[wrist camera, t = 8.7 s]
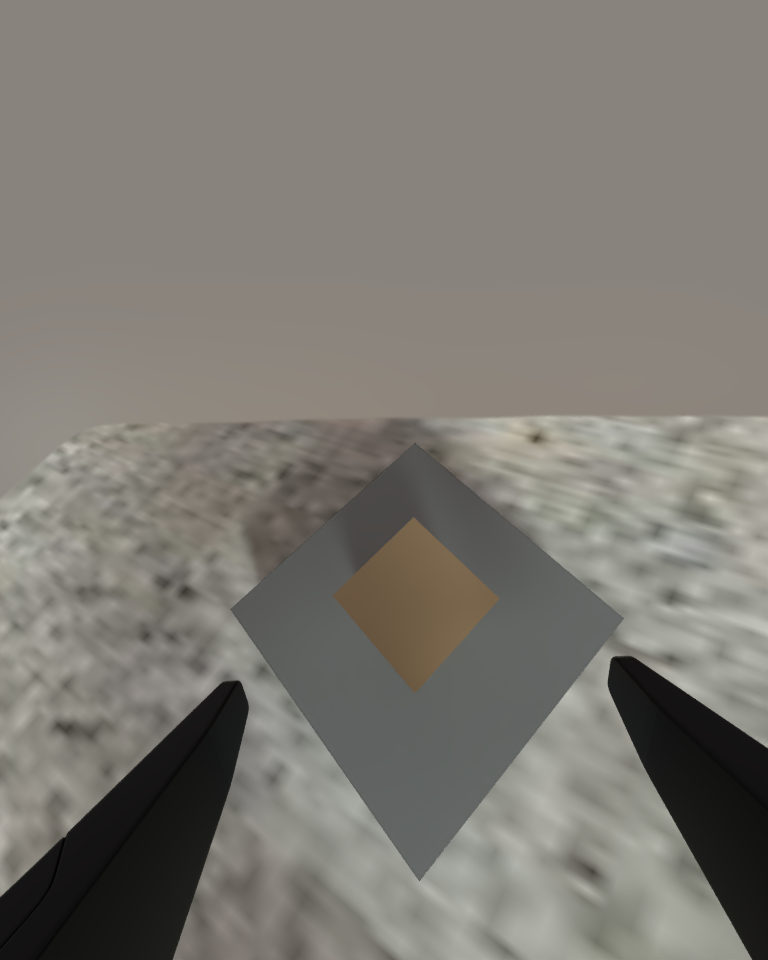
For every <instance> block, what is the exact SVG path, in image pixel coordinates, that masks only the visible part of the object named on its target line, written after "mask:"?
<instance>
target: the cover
mask: <svg viewBox="0 0 768 960" xmlns="http://www.w3.org/2000/svg"><path fill="white" fill-rule="evenodd" d="M231 611H232V612H233V614H234V615H235V617H236V618H237V620H238V621H239V622H240V624H241V625H242V627H243V628H244V630H245V631H246V633H247V634H248V635H249V637H250V638H251V640H252V641H253V643H254V644H255V645H256V647H257V648H258V650H259V651H260V653H261V654H262V656H263V657H264V658H265V660H266V661H267V663H268V664H269V666H270V667H271V669H272V670H273V671H274V673H275V674H276V676H277V677H278V679H279V680H280V681H281V683H282V684H283V686H284V687H285V689H286V690H287V692H288V693H289V694H290V696H291V697H292V699H293V700H294V702H295V703H296V705H297V706H298V707H299V709H300V710H301V712H302V713H303V715H304V716H305V717H306V719H307V720H308V722H309V723H310V725H311V726H312V728H313V729H314V730H315V732H316V733H317V735H318V736H319V738H320V739H321V741H322V742H323V743H324V745H325V746H326V748H327V749H328V751H329V752H330V753H331V755H332V756H333V758H334V759H335V761H336V762H337V764H338V765H339V766H340V768H341V769H342V771H343V772H344V774H345V775H346V777H347V778H348V779H349V781H350V782H351V784H352V785H353V787H354V788H355V789H356V791H357V792H358V794H359V795H360V797H361V798H362V800H363V801H364V802H365V804H366V805H367V807H368V808H369V810H370V811H371V813H372V814H373V815H374V817H375V818H376V820H377V821H378V823H379V824H380V825H381V827H382V828H383V830H384V831H385V833H386V834H387V836H388V837H389V838H390V840H391V841H392V843H393V844H394V846H395V847H396V849H397V850H398V851H399V853H400V854H401V856H402V857H403V859H404V860H405V861H406V863H407V864H408V866H409V867H410V869H411V870H412V872H413V873H414V874H415V876H416V877H417V879H418V880H419V881H420V880H421V879H422V877H423V876H424V875H425V874H426V872H427V871H428V870H429V868H430V867H431V866H432V865H433V863H434V862H435V861H436V859H437V858H438V857H439V856H440V854H441V853H442V852H443V850H444V849H445V848H446V847H447V845H448V844H449V843H450V841H451V840H452V839H453V838H454V836H455V835H456V834H457V832H458V831H459V830H460V829H461V827H462V826H463V825H464V823H465V822H466V821H467V820H468V818H469V817H470V816H471V814H472V813H473V812H474V810H475V809H476V808H477V807H478V805H479V804H480V803H481V801H482V800H483V799H484V798H485V796H486V795H487V794H488V792H489V791H490V790H491V789H492V787H493V786H494V785H495V783H496V782H497V781H498V780H499V778H500V777H501V776H502V774H503V773H504V772H505V771H506V769H507V768H508V767H509V765H510V764H511V763H512V762H513V760H514V759H515V758H516V756H517V755H518V754H519V753H520V751H521V750H522V749H523V747H524V746H525V745H526V744H527V742H528V741H529V740H530V738H531V737H532V736H533V735H534V733H535V732H536V731H537V729H538V728H539V727H540V726H541V724H542V723H543V722H544V720H545V719H546V718H547V717H548V715H549V714H550V713H551V711H552V710H553V709H554V708H555V706H556V705H557V704H558V702H559V701H560V700H561V699H562V697H563V696H564V695H565V693H566V692H567V691H568V690H569V688H570V687H571V686H572V684H573V683H574V682H575V681H576V679H577V678H578V677H579V675H580V674H581V673H582V672H583V670H584V669H585V668H586V666H587V665H588V664H589V663H590V661H591V660H592V659H593V657H594V656H595V655H596V654H597V652H598V651H599V650H600V648H601V647H602V646H603V645H604V643H605V642H606V641H607V639H608V638H609V637H610V636H611V634H612V633H613V632H614V630H615V629H616V628H617V627H618V625H619V624H620V623H621V621H622V620H623V619H624V618H623V617H622V616H621V615H619V614H618V613H617V612H616V611H615V610H613V609H612V608H611V607H610V606H609V605H607V604H606V603H605V602H604V601H603V600H601V599H600V598H599V597H598V596H597V595H595V594H594V593H593V592H592V591H591V590H590V589H588V588H587V587H586V586H585V585H584V584H582V583H581V582H580V581H579V580H578V579H576V578H575V577H574V576H573V575H572V574H570V573H569V572H568V571H567V570H566V569H565V568H563V567H562V566H561V565H560V564H559V563H557V562H556V561H555V560H554V559H553V558H551V557H550V556H549V555H548V554H547V553H545V552H544V551H543V550H542V549H541V548H540V547H538V546H537V545H536V544H535V543H534V542H532V541H531V540H530V539H529V538H528V537H526V536H525V535H524V534H523V533H522V532H520V531H519V530H518V529H517V528H516V527H515V526H513V525H512V524H511V523H510V522H509V521H507V520H506V519H505V518H504V517H503V516H501V515H500V514H499V513H498V512H497V511H495V510H494V509H493V508H492V507H491V506H489V505H488V504H487V503H486V502H485V501H484V500H482V499H481V498H480V497H479V496H478V495H476V494H475V493H474V492H473V491H472V490H470V489H469V488H468V487H467V486H466V485H464V484H463V483H462V482H461V481H460V480H459V479H457V478H456V477H455V476H454V475H453V474H451V473H450V472H449V471H448V470H447V469H445V468H444V467H443V466H442V465H441V464H439V463H438V462H437V461H436V460H435V459H434V458H432V457H431V456H430V455H429V454H428V453H426V452H425V451H424V450H423V449H422V448H420V447H419V446H418V445H417V444H416V443H415V444H413V445H412V446H411V447H410V448H409V449H408V450H407V451H406V452H405V453H403V454H402V455H401V456H400V457H399V458H398V459H397V460H396V461H395V462H393V463H392V464H391V465H390V466H389V467H388V468H387V469H386V470H385V471H383V472H382V473H381V474H380V475H379V476H378V477H377V478H376V479H375V480H373V481H372V482H371V483H370V484H369V485H368V486H367V487H366V488H365V489H363V490H362V491H361V492H360V493H359V494H358V495H357V496H356V497H355V498H353V499H352V500H351V501H350V502H349V503H348V504H347V505H346V506H345V507H343V508H342V509H341V510H340V511H339V512H338V513H337V514H336V515H335V516H333V517H332V518H331V519H330V520H329V521H328V522H327V523H326V524H325V525H323V526H322V527H321V528H320V529H319V530H318V531H317V532H316V533H315V534H313V535H312V536H311V537H310V538H309V539H308V540H307V541H306V542H305V543H303V544H302V545H301V546H300V547H299V548H298V549H297V550H296V551H295V552H293V553H292V554H291V555H290V556H289V557H288V558H287V559H286V560H285V561H284V562H282V563H281V564H280V565H279V566H278V567H277V568H276V569H275V570H274V571H272V572H271V573H270V574H269V575H268V576H267V577H266V578H265V579H264V580H262V581H261V582H260V583H259V584H258V585H257V586H256V587H255V588H254V589H252V590H251V591H250V592H249V593H248V594H247V595H246V596H245V597H244V598H242V599H241V600H240V601H239V602H238V603H237V604H236V605H235V606H234V607H232V608H231Z"/></svg>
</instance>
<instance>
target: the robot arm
mask: <svg viewBox="0 0 768 960" xmlns="http://www.w3.org/2000/svg"><path fill="white" fill-rule="evenodd" d="M608 688H609V691H610V694H611V696H612V698H613V701H614V703H615V705H616V707H617V709H618V712H619V714H620V716H621V718H622V720H623V723H624V725H625V727H626V729H627V731H628V734H629V736H630V738H631V740H632V742H633V744H634V747H635V749H636V751H637V753H638V755H639V758H640V760H641V762H642V764H643V766H644V768H645V770H646V772H647V773H648V775H649V777H650V779H651V781H652V783H653V784H654V786H655V788H656V790H657V792H658V793H659V795H660V797H661V799H662V800H663V802H664V804H665V806H666V807H667V809H668V811H669V813H670V815H671V816H672V818H673V820H674V822H675V823H676V825H677V827H678V829H679V831H680V832H681V834H682V836H683V838H684V839H685V841H686V843H687V845H688V847H689V848H690V850H691V852H692V854H693V855H694V857H695V859H696V861H697V863H698V864H699V866H700V868H701V870H702V871H703V873H704V875H705V877H706V879H707V880H708V882H709V884H710V886H711V887H712V889H713V891H714V893H715V895H716V896H717V898H718V900H719V902H720V903H721V905H722V907H723V909H724V911H725V912H726V914H727V916H728V918H729V919H730V921H731V923H732V925H733V927H734V928H735V930H736V932H737V934H738V935H739V937H740V939H741V941H742V943H743V944H744V946H745V948H746V950H747V951H748V953H749V955H750V957H751V958H752V960H768V748H767V747H765V746H764V745H762V744H761V743H759V742H758V741H756V740H755V739H753V738H752V737H750V736H749V735H748V734H746V733H745V732H743V731H742V730H740V729H739V728H737V727H736V726H734V725H733V724H731V723H730V722H728V721H727V720H725V719H724V718H723V717H721V716H720V715H718V714H717V713H715V712H714V711H712V710H711V709H709V708H708V707H706V706H705V705H703V704H702V703H700V702H699V701H697V700H696V699H695V698H693V697H692V696H690V695H689V694H687V693H686V692H684V691H683V690H681V689H680V688H678V687H677V686H675V685H674V684H672V683H671V682H669V681H668V680H667V679H665V678H664V677H662V676H661V675H659V674H658V673H656V672H655V671H653V670H652V669H650V668H649V667H647V666H646V665H644V664H643V663H642V662H640V661H639V660H637V659H636V658H634V657H632V656H615V657H613V658H612V659H611V662H610V669H609V676H608ZM248 710H249V706H248V701H247V698H246V695H245V692H244V689H243V686H242V683H241V682H240V681H237V680H236V681H225V682H222V683H221V684H220V685H219V686H218V687H217V688H216V689H215V690H214V691H213V692H212V693H211V694H209V695H208V696H207V697H206V698H205V699H204V700H203V701H202V702H201V703H200V704H199V705H198V706H197V707H196V708H195V709H194V710H193V711H192V712H191V713H190V714H189V715H188V716H187V717H186V718H185V719H184V720H183V721H182V722H181V723H180V724H179V725H178V726H177V727H176V728H175V729H174V730H173V731H172V732H170V733H169V734H168V735H167V736H166V737H165V738H164V739H163V740H162V741H161V742H160V743H159V744H158V745H157V746H156V747H155V748H154V749H153V750H152V751H151V752H150V753H149V754H148V755H147V756H146V757H145V758H144V759H143V760H142V761H141V762H140V763H139V764H138V765H137V766H136V767H135V768H134V769H132V770H131V771H130V772H129V773H128V774H127V775H126V776H125V777H124V778H123V779H122V780H121V781H120V782H119V783H118V784H117V785H116V786H115V787H114V788H113V789H112V790H111V791H110V792H109V793H108V794H107V795H106V796H105V797H104V798H103V799H102V800H101V801H100V802H99V803H98V804H97V805H96V806H95V807H93V808H92V809H91V810H90V811H89V812H88V813H87V814H86V815H85V816H84V817H83V818H82V819H81V820H80V821H79V822H78V823H77V824H76V825H75V826H74V827H73V828H72V829H71V830H70V831H69V832H68V833H67V835H66V837H63V838H62V839H60V840H59V841H58V842H57V843H56V844H55V845H54V846H53V847H52V848H51V849H50V850H49V851H48V852H47V853H46V854H45V855H44V856H43V857H42V858H41V859H40V860H39V861H38V862H37V863H36V864H35V865H34V866H33V867H32V868H30V869H29V870H28V871H27V872H26V873H25V874H24V875H23V876H22V877H21V878H20V879H19V880H18V881H17V882H16V883H15V884H14V885H13V886H11V887H10V888H9V889H8V890H7V891H6V892H5V893H4V894H3V895H2V896H1V897H0V960H173V957H174V954H175V951H176V948H177V945H178V942H179V939H180V936H181V933H182V930H183V927H184V924H185V921H186V918H187V915H188V912H189V909H190V906H191V903H192V900H193V897H194V894H195V891H196V888H197V885H198V882H199V879H200V876H201V873H202V870H203V867H204V864H205V861H206V858H207V855H208V852H209V849H210V846H211V843H212V840H213V837H214V834H215V831H216V828H217V825H218V822H219V819H220V816H221V813H222V810H223V807H224V804H225V801H226V798H227V795H228V792H229V789H230V786H231V782H232V778H233V774H234V770H235V766H236V762H237V758H238V753H239V749H240V745H241V741H242V737H243V733H244V729H245V724H246V720H247V716H248Z"/></svg>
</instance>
